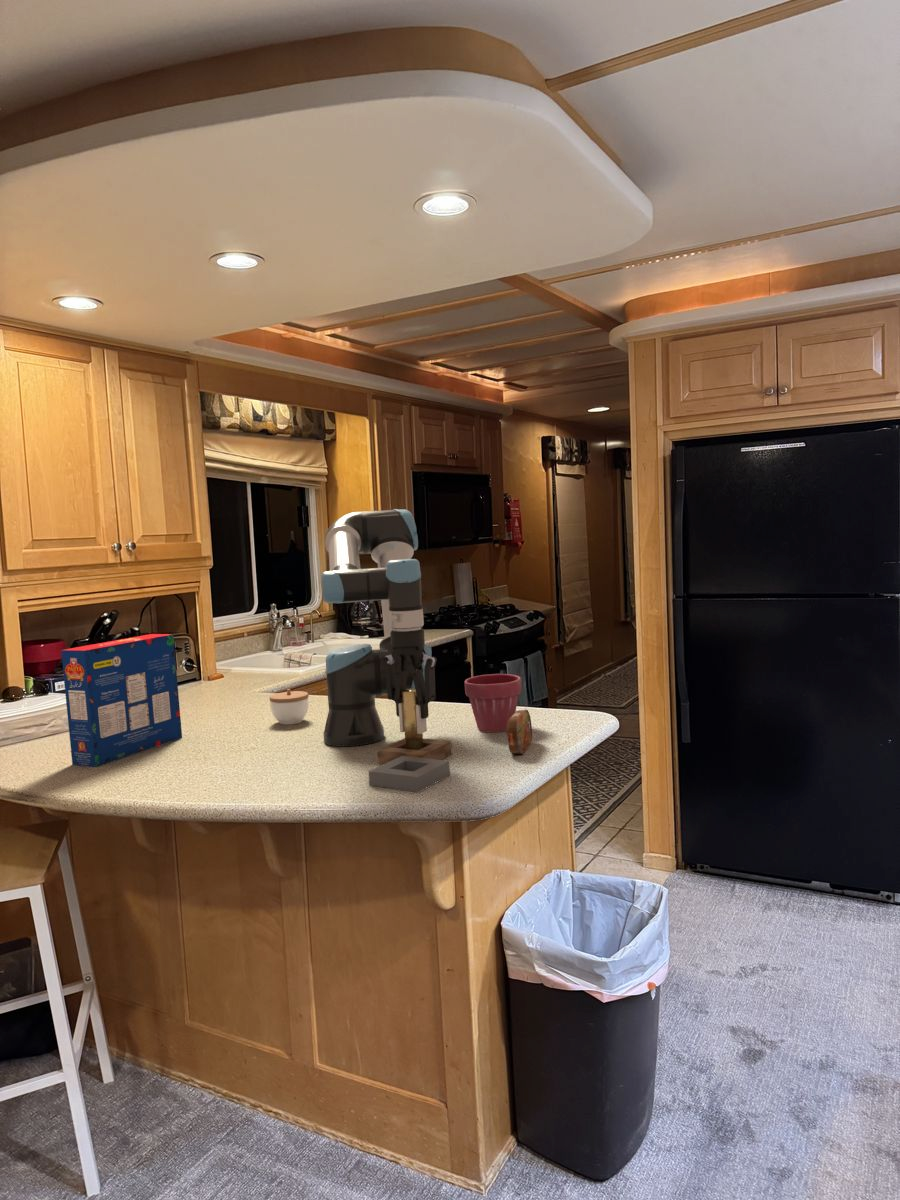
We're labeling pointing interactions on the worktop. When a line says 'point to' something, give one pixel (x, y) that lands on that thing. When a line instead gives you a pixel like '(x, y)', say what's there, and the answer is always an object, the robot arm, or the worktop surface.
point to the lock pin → (411, 720)
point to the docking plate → (409, 773)
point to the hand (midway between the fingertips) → (413, 731)
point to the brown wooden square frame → (429, 750)
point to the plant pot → (493, 699)
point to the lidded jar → (289, 706)
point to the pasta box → (121, 698)
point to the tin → (519, 732)
